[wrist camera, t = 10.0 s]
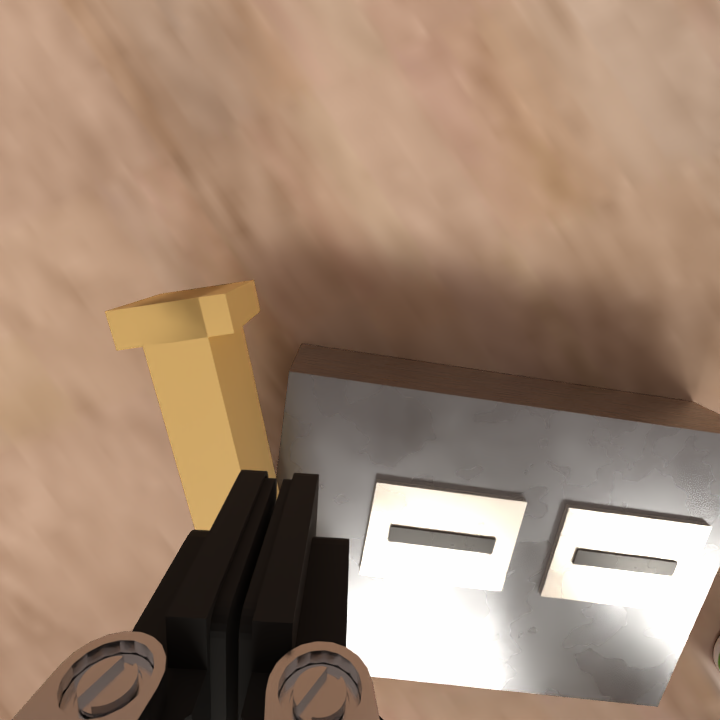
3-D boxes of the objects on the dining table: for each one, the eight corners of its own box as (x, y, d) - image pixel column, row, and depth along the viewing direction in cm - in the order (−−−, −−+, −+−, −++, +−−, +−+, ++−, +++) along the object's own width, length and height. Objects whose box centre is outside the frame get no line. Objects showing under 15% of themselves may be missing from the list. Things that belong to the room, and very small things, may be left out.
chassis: (693, 401, 25) (782, 445, 20) (607, 629, 29) (662, 714, 24) (301, 343, 24) (287, 374, 19) (270, 590, 28) (252, 671, 23)
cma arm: (341, 668, 23) (338, 788, 18) (264, 678, 23) (241, 800, 18) (262, 277, 18) (227, 294, 13) (162, 292, 18) (88, 315, 13)
